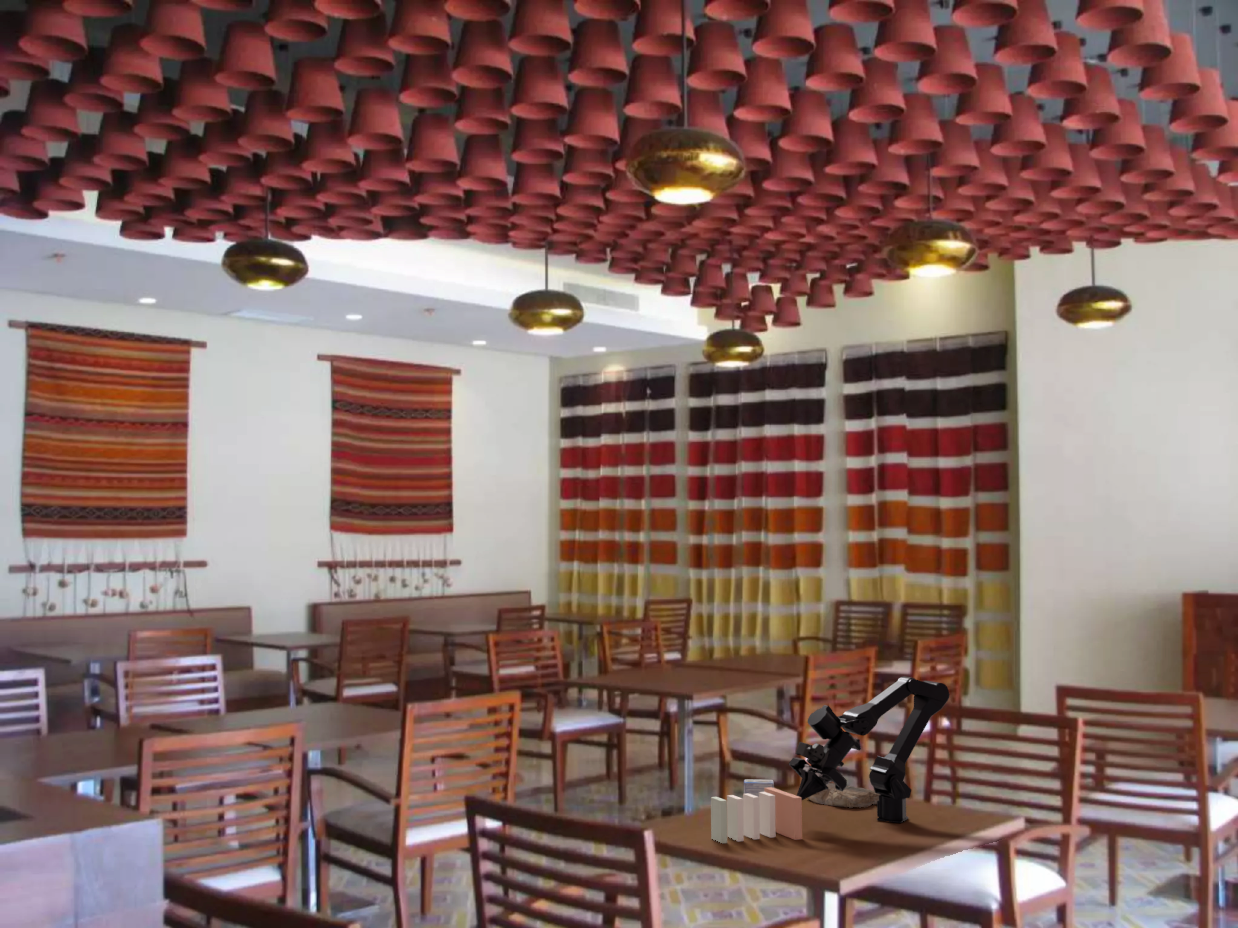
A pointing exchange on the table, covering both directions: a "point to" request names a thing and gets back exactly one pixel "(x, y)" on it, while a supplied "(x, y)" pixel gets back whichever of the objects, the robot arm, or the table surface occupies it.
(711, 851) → the table surface
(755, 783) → the medicine box
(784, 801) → the terracotta tile
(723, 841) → the sage domino
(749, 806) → the ivory domino
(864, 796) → the flat grey rock
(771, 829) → the ivory domino
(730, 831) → the ivory domino
